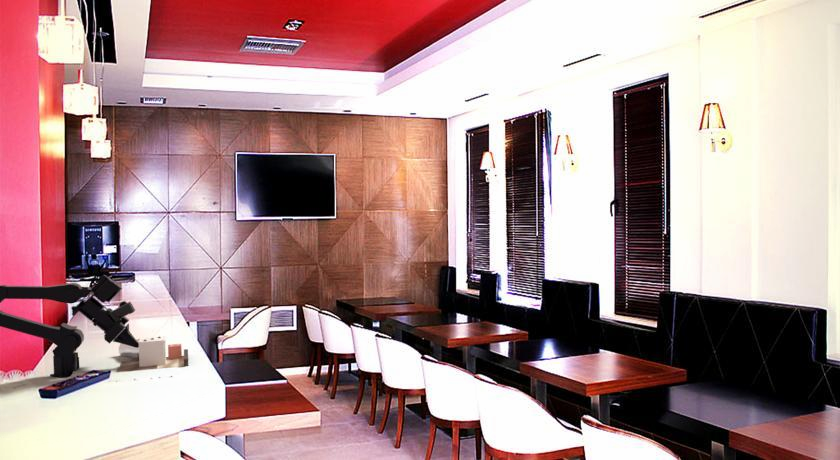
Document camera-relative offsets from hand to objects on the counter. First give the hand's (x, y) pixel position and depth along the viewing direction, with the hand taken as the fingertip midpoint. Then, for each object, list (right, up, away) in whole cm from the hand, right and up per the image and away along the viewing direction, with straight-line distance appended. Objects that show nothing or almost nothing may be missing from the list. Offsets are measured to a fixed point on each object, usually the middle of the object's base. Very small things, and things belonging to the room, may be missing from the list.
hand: (138, 346), depth 220 cm
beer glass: (-11, -4, +18) cm, 21 cm away
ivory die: (+4, -5, +1) cm, 7 cm away
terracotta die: (+8, -5, +10) cm, 14 cm away
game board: (+4, -7, +2) cm, 8 cm away
